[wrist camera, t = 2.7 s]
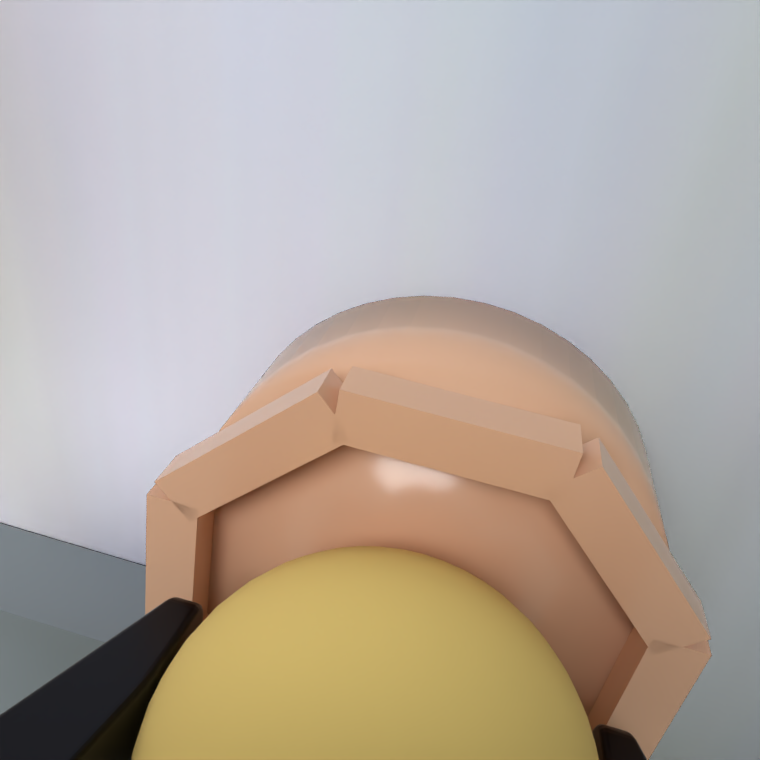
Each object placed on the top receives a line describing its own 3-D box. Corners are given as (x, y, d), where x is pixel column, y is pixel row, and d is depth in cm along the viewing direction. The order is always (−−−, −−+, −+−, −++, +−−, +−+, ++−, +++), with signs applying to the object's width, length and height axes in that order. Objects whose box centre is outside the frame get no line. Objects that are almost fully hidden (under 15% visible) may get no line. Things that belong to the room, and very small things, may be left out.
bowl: (722, 360, 10) (798, 509, 7) (572, 677, 14) (581, 870, 11) (260, 248, 11) (149, 339, 8) (230, 577, 14) (143, 730, 11)
